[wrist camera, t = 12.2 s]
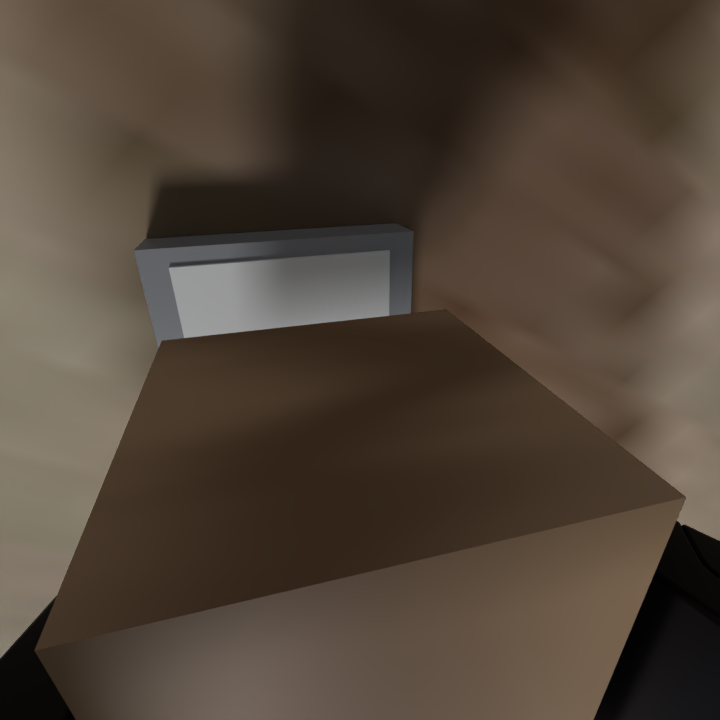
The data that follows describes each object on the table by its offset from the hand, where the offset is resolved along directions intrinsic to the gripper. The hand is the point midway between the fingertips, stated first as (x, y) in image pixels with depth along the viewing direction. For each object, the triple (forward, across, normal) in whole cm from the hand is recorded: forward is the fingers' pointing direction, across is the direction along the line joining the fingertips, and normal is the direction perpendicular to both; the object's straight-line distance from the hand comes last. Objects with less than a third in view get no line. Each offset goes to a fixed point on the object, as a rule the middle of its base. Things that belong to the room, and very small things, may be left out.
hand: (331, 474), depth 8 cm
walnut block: (+1, 0, 0) cm, 1 cm away
